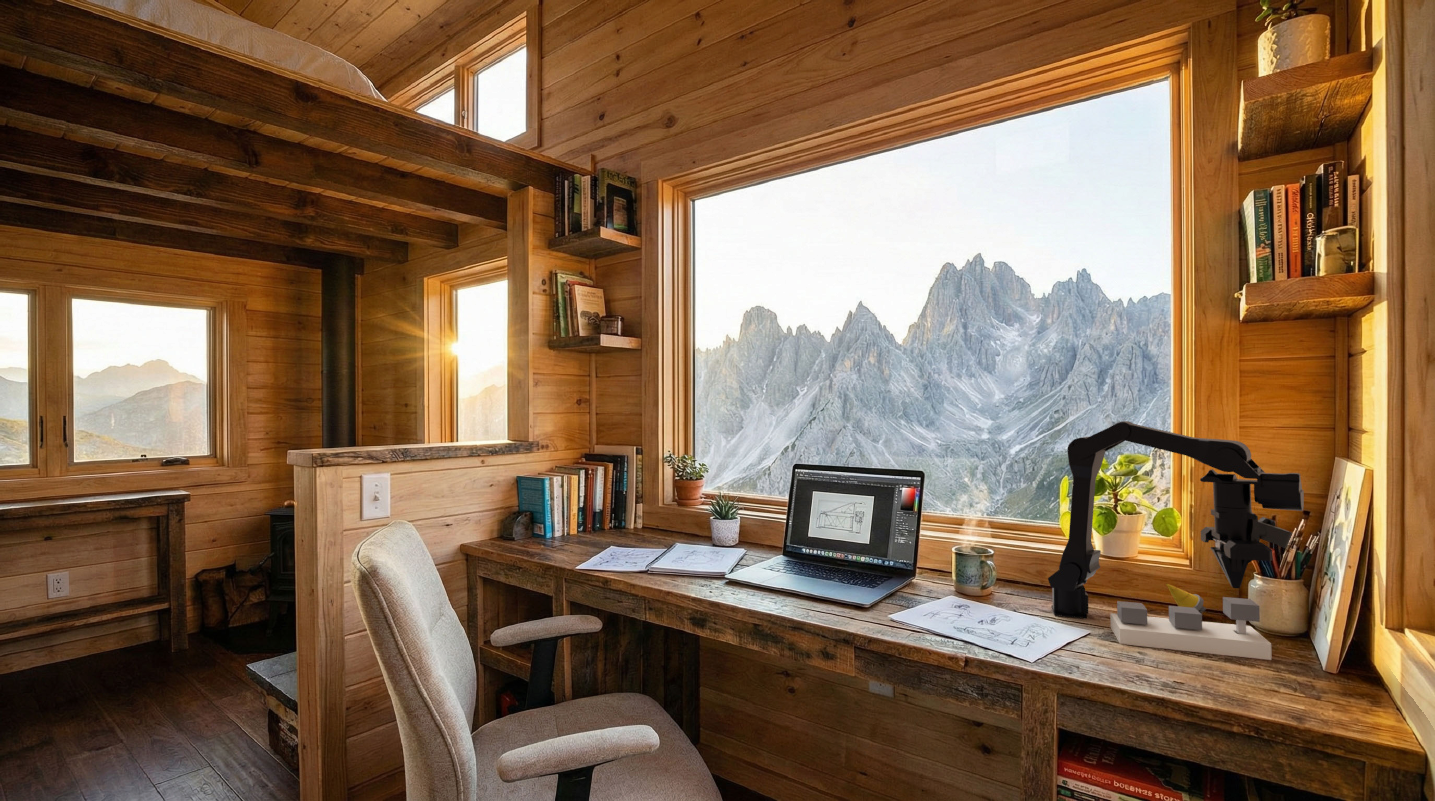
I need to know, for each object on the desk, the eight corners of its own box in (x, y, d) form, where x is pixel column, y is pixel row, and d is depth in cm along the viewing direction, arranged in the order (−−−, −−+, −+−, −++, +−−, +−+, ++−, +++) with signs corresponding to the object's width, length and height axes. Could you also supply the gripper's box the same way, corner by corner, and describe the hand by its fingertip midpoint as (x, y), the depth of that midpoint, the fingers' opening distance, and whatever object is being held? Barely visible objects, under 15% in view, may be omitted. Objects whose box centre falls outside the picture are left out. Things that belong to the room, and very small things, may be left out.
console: (1120, 643, 129) (1119, 628, 129) (1110, 627, 139) (1110, 612, 139) (1271, 659, 121) (1271, 643, 121) (1250, 641, 130) (1250, 625, 130)
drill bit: (1210, 623, 142) (1172, 590, 143) (1188, 626, 146) (1152, 594, 148) (1217, 604, 144) (1180, 572, 146) (1196, 608, 149) (1160, 576, 150)
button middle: (1175, 642, 128) (1174, 612, 128) (1169, 635, 132) (1168, 605, 132) (1202, 645, 127) (1201, 614, 127) (1195, 637, 131) (1194, 607, 131)
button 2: (1231, 635, 125) (1230, 603, 125) (1223, 627, 129) (1222, 596, 129) (1259, 637, 123) (1259, 605, 123) (1250, 630, 128) (1250, 599, 128)
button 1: (1121, 637, 132) (1121, 607, 132) (1117, 630, 136) (1117, 601, 136) (1147, 640, 130) (1147, 609, 130) (1142, 632, 134) (1142, 603, 134)
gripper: (1307, 515, 115) (1311, 605, 115) (1265, 500, 132) (1268, 578, 132) (1229, 513, 119) (1233, 600, 119) (1198, 499, 136) (1201, 575, 136)
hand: (1235, 587), depth 126 cm, fingers closed
